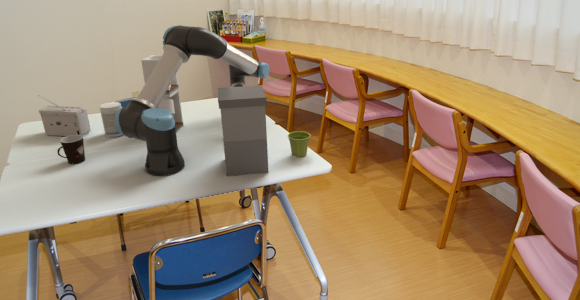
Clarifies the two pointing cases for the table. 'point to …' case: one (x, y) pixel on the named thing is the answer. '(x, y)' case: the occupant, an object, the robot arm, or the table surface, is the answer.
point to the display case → (172, 94)
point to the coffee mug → (73, 149)
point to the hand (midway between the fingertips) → (240, 103)
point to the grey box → (244, 129)
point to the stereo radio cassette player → (65, 120)
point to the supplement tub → (110, 118)
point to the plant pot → (299, 143)
